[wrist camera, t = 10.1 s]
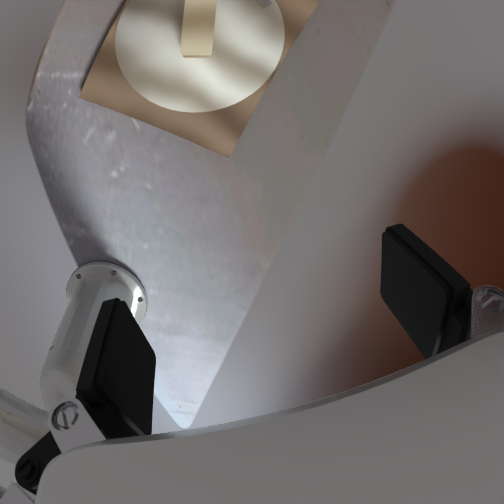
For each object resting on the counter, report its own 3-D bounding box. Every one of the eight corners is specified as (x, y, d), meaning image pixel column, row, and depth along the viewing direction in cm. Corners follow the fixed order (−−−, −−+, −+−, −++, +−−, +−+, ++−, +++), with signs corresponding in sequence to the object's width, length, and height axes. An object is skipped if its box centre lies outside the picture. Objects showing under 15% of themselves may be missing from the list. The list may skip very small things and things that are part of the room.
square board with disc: (227, 155, 36) (228, 158, 34) (83, 97, 29) (78, 97, 28) (318, -2, 27) (323, -5, 26) (176, -63, 21) (175, -69, 19)
